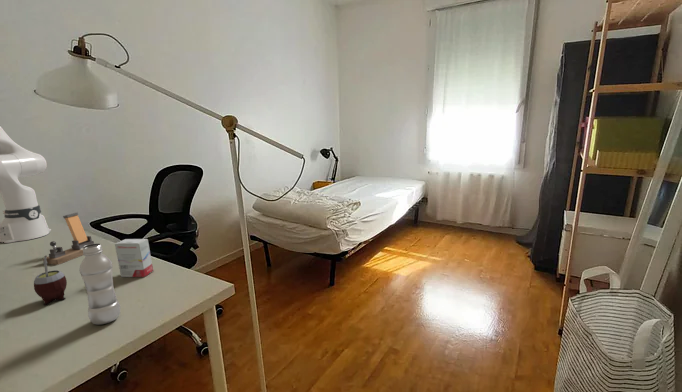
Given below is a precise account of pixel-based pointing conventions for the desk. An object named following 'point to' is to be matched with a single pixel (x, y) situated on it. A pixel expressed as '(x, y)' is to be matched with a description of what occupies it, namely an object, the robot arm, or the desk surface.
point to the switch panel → (67, 252)
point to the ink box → (134, 257)
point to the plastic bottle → (99, 285)
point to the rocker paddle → (75, 227)
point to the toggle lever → (53, 245)
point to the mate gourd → (50, 285)
